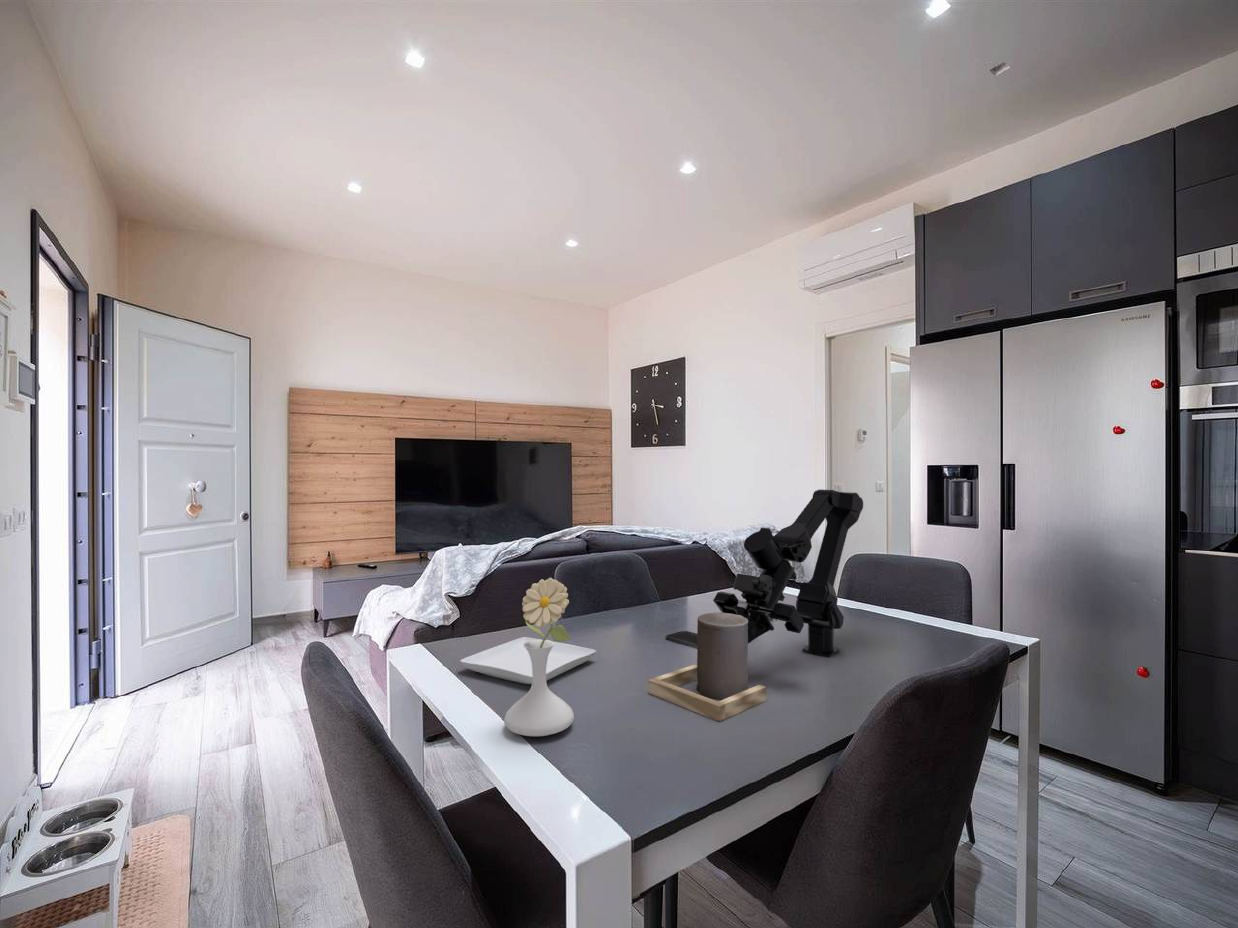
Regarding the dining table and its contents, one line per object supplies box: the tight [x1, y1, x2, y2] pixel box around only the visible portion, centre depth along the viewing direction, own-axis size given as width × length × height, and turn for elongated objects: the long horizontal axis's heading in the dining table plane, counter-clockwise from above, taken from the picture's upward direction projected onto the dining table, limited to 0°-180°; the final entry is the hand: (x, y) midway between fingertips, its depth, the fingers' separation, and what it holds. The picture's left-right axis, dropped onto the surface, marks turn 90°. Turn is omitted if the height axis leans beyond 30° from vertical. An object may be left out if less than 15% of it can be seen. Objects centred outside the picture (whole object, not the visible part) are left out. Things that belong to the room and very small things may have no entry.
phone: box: [665, 630, 698, 650], centre depth 145 cm, size 8×1×15 cm
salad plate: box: [459, 636, 597, 685], centre depth 127 cm, size 21×21×3 cm
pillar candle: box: [696, 611, 749, 700], centre depth 114 cm, size 10×10×15 cm
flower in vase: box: [503, 577, 575, 737], centre depth 98 cm, size 13×11×25 cm
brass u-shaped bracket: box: [647, 663, 767, 722], centre depth 111 cm, size 14×17×2 cm
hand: (738, 646), depth 118 cm, fingers closed
